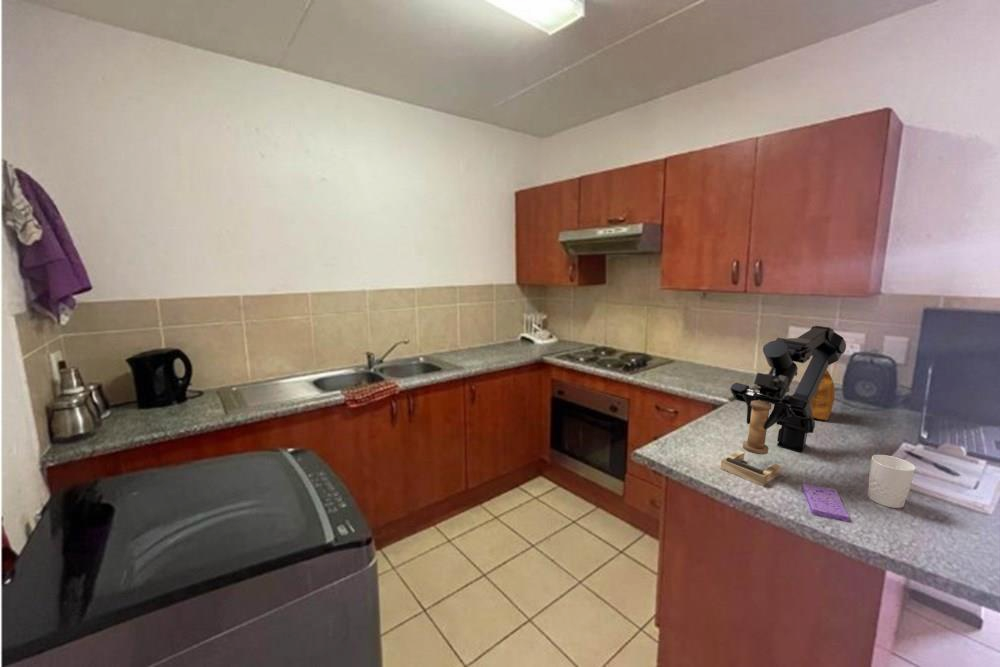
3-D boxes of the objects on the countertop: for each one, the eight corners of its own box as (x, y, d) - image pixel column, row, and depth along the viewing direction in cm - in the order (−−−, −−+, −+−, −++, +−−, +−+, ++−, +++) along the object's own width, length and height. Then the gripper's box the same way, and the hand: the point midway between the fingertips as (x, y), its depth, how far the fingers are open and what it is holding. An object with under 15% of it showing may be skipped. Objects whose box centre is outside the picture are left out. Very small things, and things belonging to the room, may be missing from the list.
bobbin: (768, 447, 122) (774, 402, 119) (768, 456, 117) (774, 409, 114) (743, 442, 125) (748, 398, 122) (742, 451, 120) (747, 405, 117)
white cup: (856, 492, 111) (863, 455, 109) (885, 491, 112) (892, 454, 110) (885, 510, 104) (893, 471, 102) (916, 509, 104) (925, 470, 102)
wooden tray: (738, 458, 128) (739, 447, 128) (779, 474, 120) (781, 463, 119) (720, 468, 122) (721, 457, 122) (762, 485, 114) (764, 474, 113)
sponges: (835, 496, 110) (836, 489, 110) (848, 524, 99) (850, 516, 99) (801, 489, 113) (802, 482, 113) (811, 515, 102) (812, 508, 102)
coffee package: (832, 413, 164) (842, 355, 159) (829, 423, 154) (839, 362, 150) (800, 407, 170) (809, 351, 166) (795, 416, 161) (804, 357, 156)
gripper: (737, 354, 126) (712, 400, 121) (813, 369, 111) (789, 422, 107) (747, 376, 132) (724, 420, 127) (820, 393, 117) (797, 444, 113)
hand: (756, 425), depth 118 cm, fingers closed on bobbin, 4 cm apart
